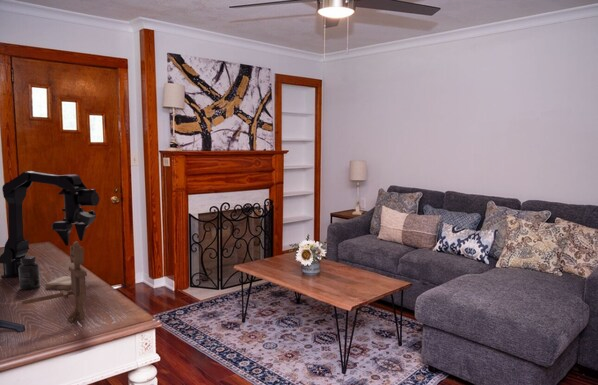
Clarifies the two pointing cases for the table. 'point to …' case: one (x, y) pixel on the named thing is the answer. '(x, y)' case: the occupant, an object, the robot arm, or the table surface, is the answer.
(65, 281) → the beige flat block
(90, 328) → the table surface
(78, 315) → the wooden figure
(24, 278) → the supplement bottle
